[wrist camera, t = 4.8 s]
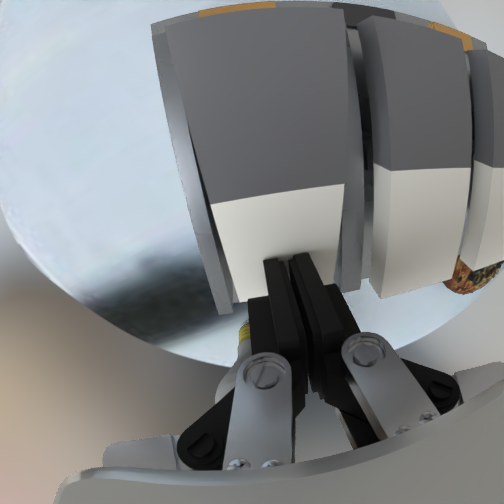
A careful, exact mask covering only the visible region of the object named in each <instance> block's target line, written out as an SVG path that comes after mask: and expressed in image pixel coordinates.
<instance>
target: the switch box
mask: <svg viewBox="0 0 504 504" xmlns="http://www.w3.org/2000/svg"><path fill="white" fill-rule="evenodd" d="M279 7H320V8H336V9H343V12H344V22H345V35H346V51H347V78H348V122H347V150H346V168H345V183H344V195H343V206H342V216H341V225H340V234H339V242H338V249H337V257H336V264H335V271H334V277H333V283H335V284H337V286H338V288H339V290H340V291H341V293H345V292H350V291H354V290H359V289H360V285H361V279H364V278H369V277H370V266H371V254H372V239H373V217H374V167H373V139H372V124H371V113H370V103H369V94H368V86H367V79H366V72H365V66H364V60H363V54H362V48H361V43H360V38H359V33H358V29H357V24H358V23H360V22H361V21H363V20H365V19H367V18H369V17H371V16H372V15H373V16H380V17H385V18H390V19H395V20H400V21H404V22H408V23H413V24H416V25H420V26H424V27H427V28H431V29H434V30H437V31H440V32H443V33H446V34H449V35H452V36H455V37H457V38H460V39H462V43H463V48H464V53H465V58H466V65H467V71H468V79H469V88H470V99H471V116H472V155H471V172H470V184H469V193H468V202H467V209H466V215H465V221H464V227H463V233H462V238H461V242H460V247H459V252H458V255H461V250H462V246H463V241H464V237H465V231H466V226H467V221H468V214H469V208H470V201H471V193H472V183H473V172H474V165H473V155H474V153H475V115H474V98H473V87H472V78H471V71H470V64H469V58H468V53H467V50H487V46H486V43H484V42H482V41H480V40H478V39H476V38H473V37H471V36H470V35H467V34H465V33H463V32H460V31H458V30H455V29H453V28H450V27H447V26H444V25H442V24H439V23H436V22H431V21H428V20H425V19H421V18H418V17H414V16H410V15H406V14H402V13H398V12H394V11H391V10H387V9H382V8H376V7H370V6H364V5H357V4H349V3H339V2H334V3H333V2H316V1H278V2H275V1H267V2H254V3H244V4H236V5H229V6H222V7H216V8H211V9H205V10H200V11H198V12H194V13H189V14H185V15H181V16H177V17H174V18H170V19H166V20H163V21H160V22H156V23H153V24H151V30H152V40H153V47H154V53H155V59H156V65H157V70H158V76H159V81H160V87H161V92H162V97H163V102H164V107H165V112H166V117H167V122H168V126H169V131H170V136H171V140H172V145H173V149H174V153H175V158H176V162H177V166H178V170H179V174H180V179H181V183H182V187H183V191H184V195H185V199H186V202H187V206H188V210H189V214H190V218H191V221H192V225H193V229H194V232H195V236H196V240H197V243H198V247H199V250H200V254H201V257H202V261H203V264H204V267H205V271H206V274H207V278H208V281H209V284H210V287H211V291H212V294H213V297H214V300H215V304H216V307H217V310H218V313H219V315H222V314H228V313H233V303H235V302H239V298H238V295H237V292H236V289H235V286H234V282H233V279H232V276H231V273H230V269H229V266H228V263H227V260H226V256H225V253H224V250H223V246H222V243H221V240H220V236H219V233H218V229H217V226H216V223H215V219H214V216H213V212H212V209H211V205H210V202H209V198H208V195H207V191H206V188H205V184H204V181H203V177H202V173H201V170H200V166H199V163H198V159H197V155H196V152H195V148H194V144H193V140H192V137H191V133H190V129H189V125H188V121H187V117H186V114H185V110H184V106H183V102H182V98H181V94H180V90H179V86H178V82H177V78H176V74H175V70H174V65H173V61H172V57H171V53H170V48H169V44H168V40H167V35H166V31H165V26H168V25H171V24H175V23H179V22H182V21H187V20H191V19H195V18H200V17H205V16H210V15H215V14H221V13H227V12H234V11H242V10H251V9H262V8H279ZM333 283H332V284H333Z"/></svg>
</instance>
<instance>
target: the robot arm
mask: <svg viewBox="0 0 504 504" xmlns="http://www.w3.org/2000/svg"><path fill="white" fill-rule="evenodd" d="M288 262H289V272H290V279H289V275H288V272H287V269H286V266H285V263H284V261H278V258H273V259H267V260H263V265H264V272H265V278H266V284H267V290H268V295H267V296H261V297H255V298H249V299H248V314H249V327H250V339H251V352H252V356H250V357H249V358H248V359H246V360H245V361H244V362H243V363H242V364H241V366H240V367H239V370H238V373H237V379H236V385H235V387H234V388H233V389H232V390H231V391H230V392H228V393H227V394H226V395H225V396H224V397H223V398H222V399H221V400H220V401H219V402H217V403H216V404H215V405H214V406H213V407H212V408H211V409H210V410H208V411H207V412H206V413H205V414H204V415H203V416H202V417H200V418H199V419H198V420H197V421H196V422H195V423H193V424H192V425H191V426H190V427H189V428H187V429H186V430H185V431H184V432H183V433H182V434H181V435H178V436H172V435H171V434H169V435H164V436H159V437H152V438H146V439H139V440H131V441H122V442H116V443H113V444H111V445H110V446H108V447H107V448H106V450H105V452H104V454H103V467H98V468H90V469H86V470H82V471H79V472H76V473H74V474H72V475H70V476H68V477H67V478H66V479H65V480H64V481H63V482H62V483H61V485H60V487H59V488H58V491H57V493H56V496H55V500H54V503H53V504H504V363H502V362H493V363H490V364H486V365H482V366H479V367H475V368H471V369H467V370H463V371H458V372H455V373H454V375H452V376H450V375H448V374H446V373H444V372H440V371H437V370H434V369H431V368H428V367H425V366H422V365H419V364H417V363H413V362H411V361H408V360H405V359H402V358H399V356H398V355H397V353H396V352H395V351H394V349H393V348H392V347H391V345H390V344H389V343H388V341H387V340H385V339H384V338H383V337H382V336H380V335H378V334H375V333H371V332H361V331H360V329H359V327H358V325H357V323H356V321H355V319H354V317H353V315H352V313H351V311H350V309H349V307H348V305H347V303H346V301H345V299H344V297H343V295H342V293H341V291H340V290H339V288H338V286H337V284H335V283H333V284H328V285H324V284H323V282H322V280H321V278H320V276H319V273H318V271H317V269H316V267H315V265H314V263H313V261H312V259H311V257H310V255H309V253H302V254H297V255H293V259H291V260H288ZM308 376H309V380H310V384H311V388H312V391H313V393H314V392H318V393H319V397H320V399H324V400H325V402H326V403H328V404H330V405H332V406H334V410H335V413H336V414H337V417H338V419H339V421H340V423H341V425H342V427H343V429H344V431H345V433H346V436H347V438H348V440H349V442H350V444H351V446H352V448H353V450H351V451H348V452H344V453H341V454H336V455H332V456H328V457H324V458H319V459H315V460H310V461H304V462H299V463H295V452H296V417H297V416H298V414H299V413H300V412H301V411H302V410H303V408H304V407H305V394H308Z"/></svg>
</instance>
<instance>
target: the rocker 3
mask: <svg viewBox="0 0 504 504" xmlns="http://www.w3.org/2000/svg"><path fill="white" fill-rule="evenodd" d="M467 53H468V58H469V64H470V71H471V78H472V87H473V98H474V115H475V153H474V155H473V165H474V172H473V183H472V193H471V201H470V208H469V214H468V221H467V226H466V231H465V237H464V241H463V246H462V250H461V255H460V259H461V260H462V261H463V262H464V263H465V264H466V265H467V266H468V267H469V268H470V269H471V270H473V271H475V270H478V269H481V268H484V267H487V266H489V265H492V264H495V263H497V262H500V261H503V260H504V58H502V57H500V56H498V55H496V54H494V53H492V52H490V51H488V50H467Z"/></svg>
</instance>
